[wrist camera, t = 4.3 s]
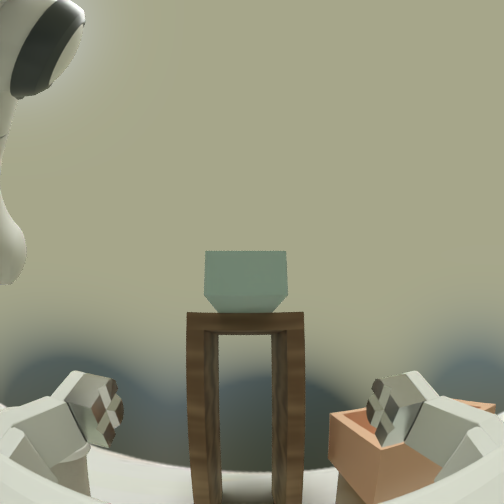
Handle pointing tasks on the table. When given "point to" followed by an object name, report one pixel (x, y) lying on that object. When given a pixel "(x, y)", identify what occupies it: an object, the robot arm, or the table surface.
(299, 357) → the shelf stand
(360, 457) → the bowl pedestal
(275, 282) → the board
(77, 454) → the coffee cup
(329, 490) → the table surface
